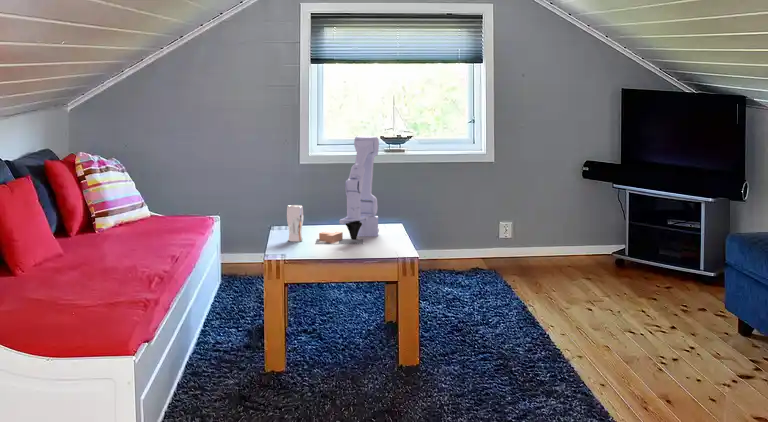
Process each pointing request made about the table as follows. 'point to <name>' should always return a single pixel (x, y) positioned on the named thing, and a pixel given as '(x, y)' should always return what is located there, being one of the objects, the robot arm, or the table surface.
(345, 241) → the t mat
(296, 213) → the beer glass
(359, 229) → the robot arm
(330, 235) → the t block
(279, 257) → the table surface
